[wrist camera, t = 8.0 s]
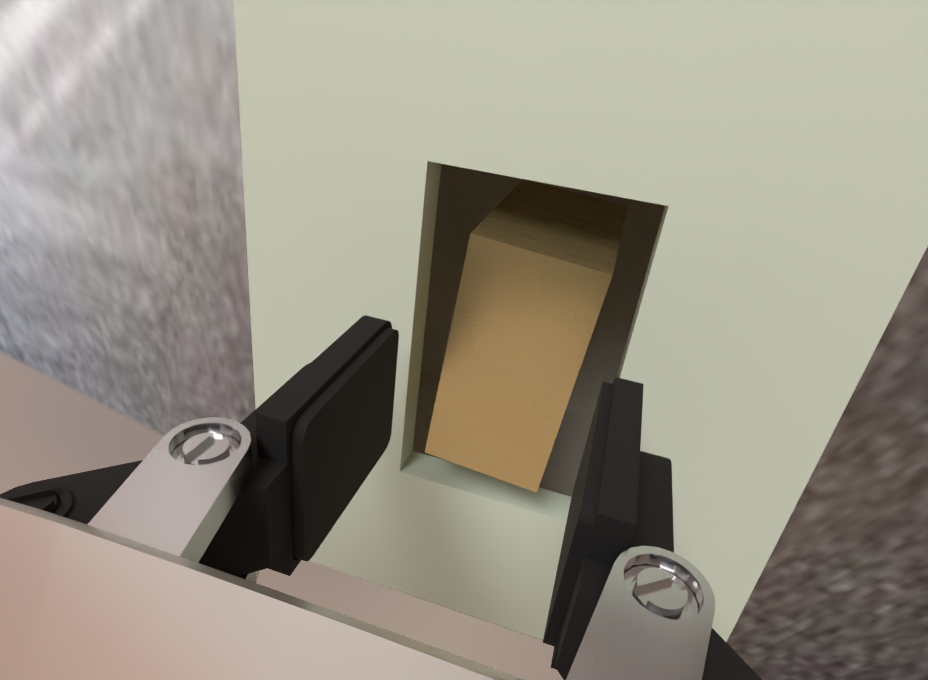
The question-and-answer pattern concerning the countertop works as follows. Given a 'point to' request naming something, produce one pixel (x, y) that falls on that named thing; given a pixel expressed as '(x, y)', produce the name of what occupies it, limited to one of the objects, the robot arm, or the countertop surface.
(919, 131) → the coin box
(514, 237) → the block
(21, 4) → the countertop surface
